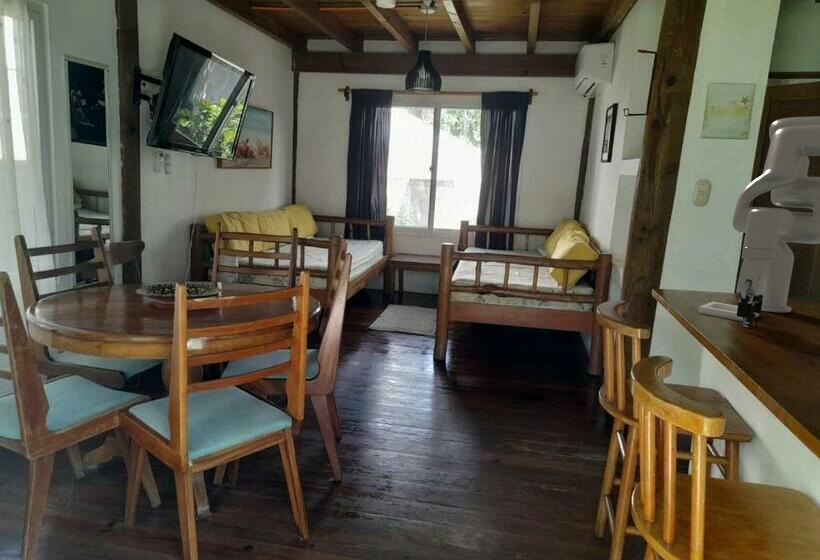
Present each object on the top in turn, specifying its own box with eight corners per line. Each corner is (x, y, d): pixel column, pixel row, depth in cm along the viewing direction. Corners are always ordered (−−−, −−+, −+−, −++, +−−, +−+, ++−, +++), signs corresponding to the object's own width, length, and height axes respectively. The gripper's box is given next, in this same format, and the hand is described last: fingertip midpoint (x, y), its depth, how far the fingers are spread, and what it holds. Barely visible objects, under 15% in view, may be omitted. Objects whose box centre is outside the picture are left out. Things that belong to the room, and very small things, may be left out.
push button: (757, 330, 144) (762, 294, 142) (734, 326, 147) (739, 291, 145) (759, 325, 149) (764, 291, 147) (737, 322, 152) (742, 288, 150)
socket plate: (712, 308, 170) (712, 301, 169) (758, 316, 160) (759, 309, 160) (698, 313, 161) (699, 306, 161) (746, 322, 152) (747, 315, 152)
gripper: (752, 250, 152) (743, 308, 156) (732, 254, 141) (723, 316, 144) (782, 253, 147) (772, 313, 150) (765, 258, 135) (754, 322, 139)
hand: (748, 314), depth 147 cm, fingers open, 9 cm apart
